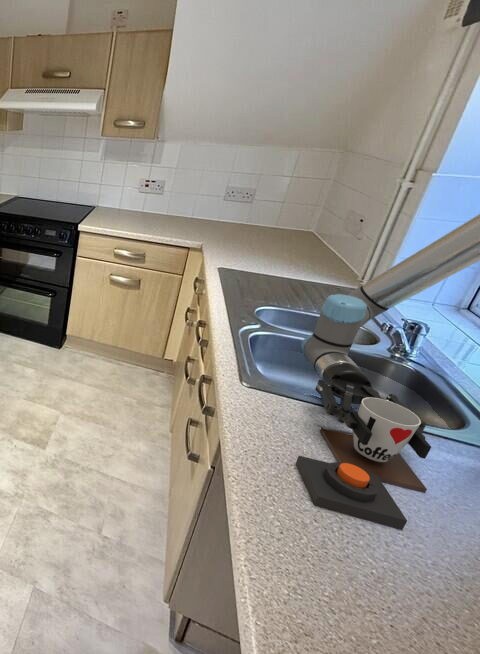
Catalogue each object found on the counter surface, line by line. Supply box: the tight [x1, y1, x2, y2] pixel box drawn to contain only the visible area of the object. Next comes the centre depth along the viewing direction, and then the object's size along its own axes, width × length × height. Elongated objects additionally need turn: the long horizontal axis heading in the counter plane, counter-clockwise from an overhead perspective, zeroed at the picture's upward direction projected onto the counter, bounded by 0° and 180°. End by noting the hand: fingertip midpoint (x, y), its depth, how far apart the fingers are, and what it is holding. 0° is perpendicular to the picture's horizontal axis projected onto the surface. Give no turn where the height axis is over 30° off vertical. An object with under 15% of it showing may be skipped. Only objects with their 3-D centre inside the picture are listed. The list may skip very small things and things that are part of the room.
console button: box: [337, 463, 370, 489], centre depth 73 cm, size 4×4×2 cm
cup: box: [352, 397, 422, 462], centre depth 80 cm, size 8×8×10 cm
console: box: [295, 455, 408, 531], centre depth 73 cm, size 12×10×4 cm
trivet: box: [319, 427, 428, 494], centre depth 82 cm, size 12×12×1 cm
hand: (395, 445), depth 75 cm, fingers closed on cup, 8 cm apart
